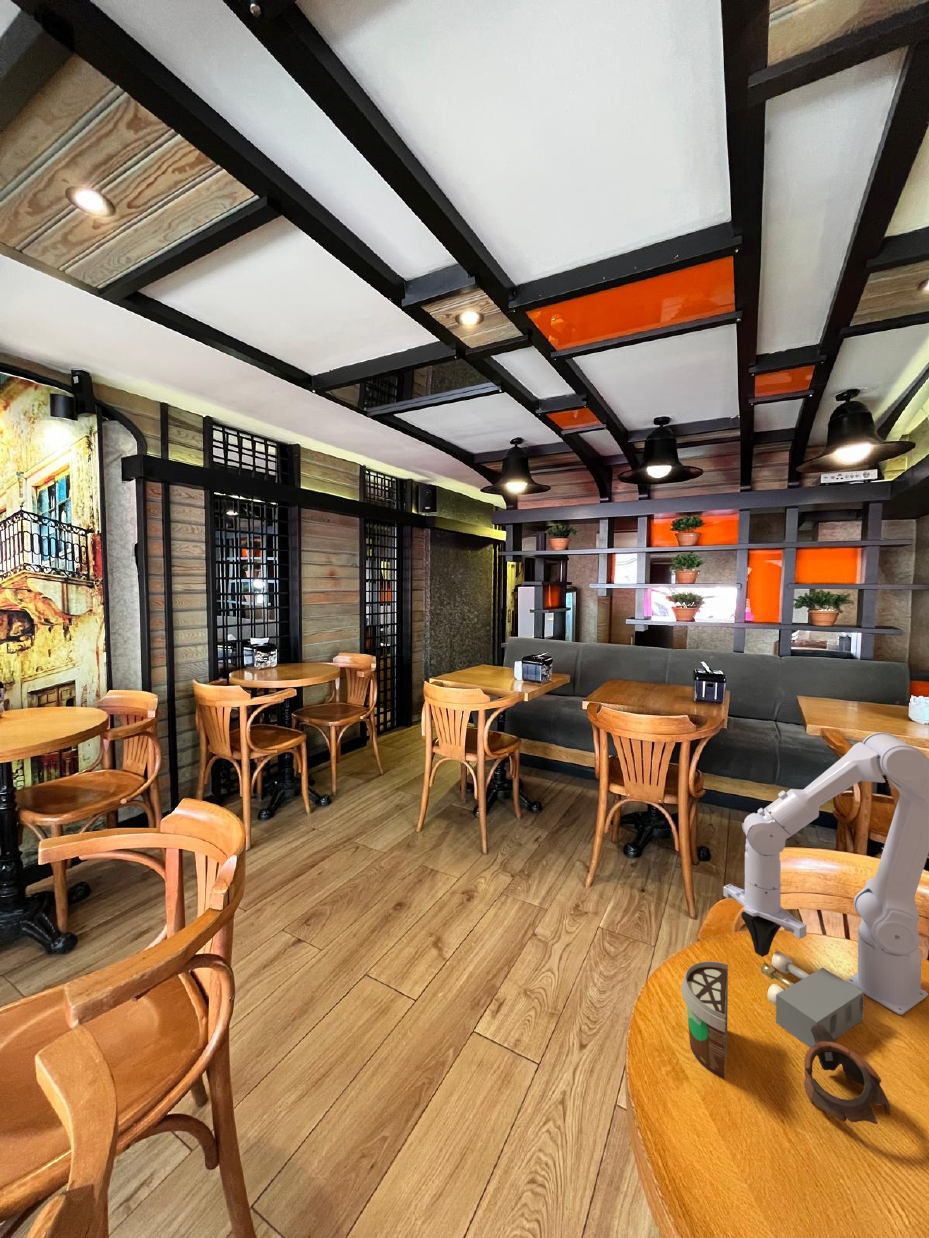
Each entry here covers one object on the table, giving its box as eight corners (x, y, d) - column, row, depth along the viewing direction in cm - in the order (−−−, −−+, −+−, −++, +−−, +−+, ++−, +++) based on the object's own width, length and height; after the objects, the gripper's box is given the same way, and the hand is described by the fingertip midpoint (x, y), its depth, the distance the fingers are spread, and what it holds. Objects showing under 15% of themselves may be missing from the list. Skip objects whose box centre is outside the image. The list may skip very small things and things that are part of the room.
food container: (685, 1008, 83) (686, 949, 82) (727, 1023, 80) (728, 962, 79) (676, 1068, 72) (676, 1000, 72) (724, 1088, 69) (724, 1017, 69)
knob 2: (781, 963, 91) (781, 948, 91) (824, 991, 84) (824, 975, 84) (771, 968, 90) (771, 953, 89) (815, 997, 83) (815, 980, 83)
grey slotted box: (822, 993, 85) (822, 967, 85) (863, 1019, 80) (863, 991, 80) (776, 1022, 80) (776, 994, 80) (816, 1052, 74) (816, 1022, 74)
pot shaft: (767, 971, 88) (767, 961, 88) (808, 998, 82) (808, 987, 82) (760, 974, 88) (760, 964, 87) (802, 1002, 81) (802, 991, 81)
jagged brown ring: (917, 1142, 62) (900, 1101, 60) (842, 1163, 64) (822, 1123, 62) (849, 1038, 74) (832, 1000, 72) (786, 1057, 75) (768, 1021, 73)
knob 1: (777, 997, 83) (777, 981, 83) (825, 1030, 76) (825, 1012, 76) (767, 1003, 82) (767, 986, 82) (815, 1037, 75) (815, 1019, 75)
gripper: (713, 868, 97) (712, 936, 97) (789, 908, 84) (789, 986, 84) (736, 859, 100) (736, 925, 100) (813, 896, 87) (813, 972, 87)
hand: (762, 952), depth 93 cm, fingers closed
